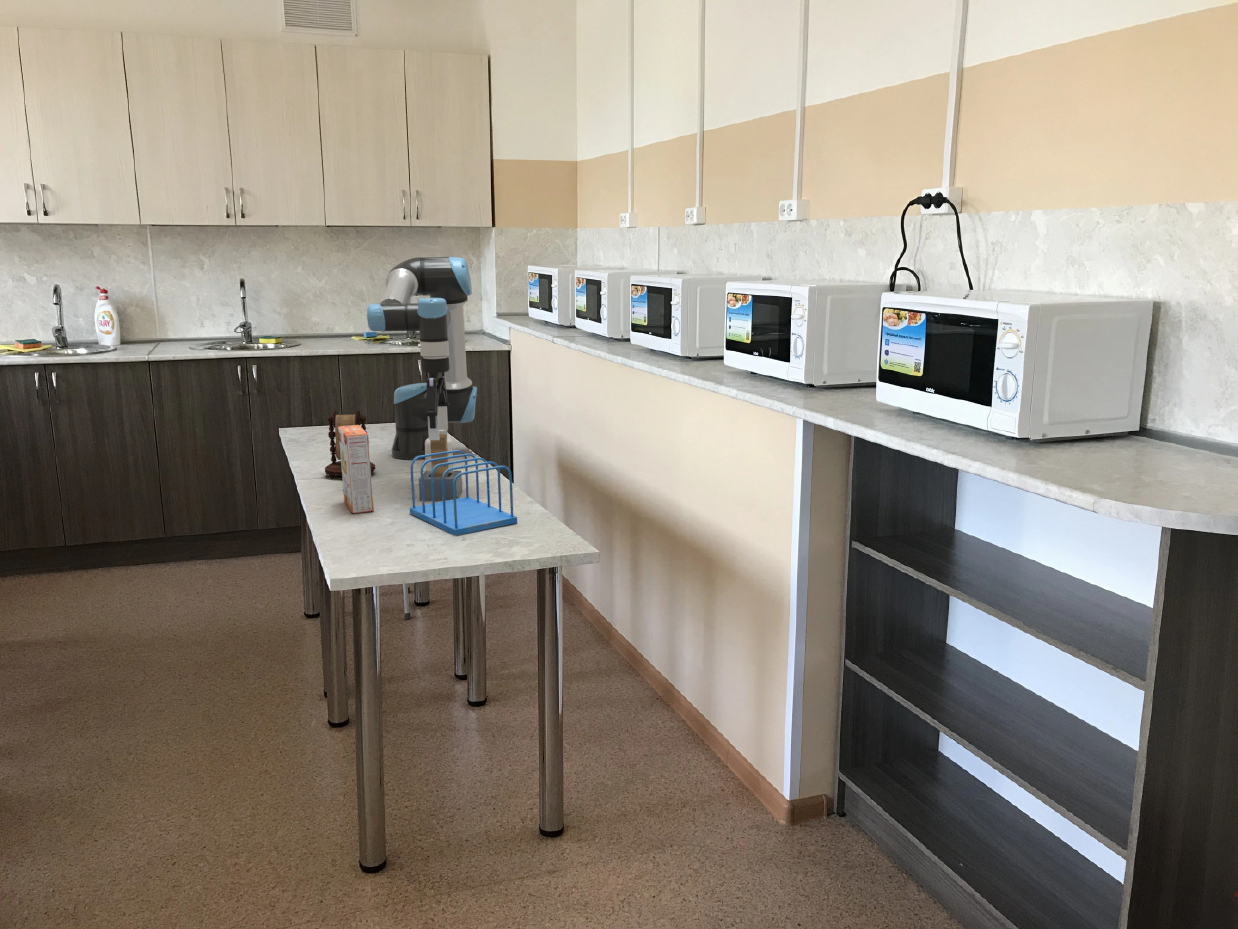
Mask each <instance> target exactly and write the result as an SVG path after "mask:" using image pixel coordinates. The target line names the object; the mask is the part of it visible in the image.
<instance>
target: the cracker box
mask: <svg viewBox="0 0 1238 929" xmlns="http://www.w3.org/2000/svg"><path fill="white" fill-rule="evenodd" d="M338 431H339V443H340V454H341V460H340V461H341V467H342V476H341V477H342V478H341V479H342V488H343V489H342V490H343V500H344V503H345V504H346V505H347V508H348V510H349V511H350V512H351V514H352V513H357V514H363V513H362V512H364V513H370V512H371V511H372V512H374V498H373V497H374V496H373V488H372V486H373V484H372V483H373V482H372V472H371V469H370V462H371V459H370V457H371V456H370V442H369V441H370V440H369V434H368V432H367V433H366V432H365V431H366V430H365V431H364V430H363V429H362V428H361V424H360V425H351V426H340V427H338Z"/></svg>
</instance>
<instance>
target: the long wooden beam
mask: <svg viewBox="0 0 1238 929" xmlns="http://www.w3.org/2000/svg"><path fill="white" fill-rule="evenodd" d="M447 437H448V433H447V434H439V438H440V440H430V444H431V454H433V453H440V452H447V451H448V450H447ZM442 457H448V454H442V455H435V456H431V459H435V458H442ZM446 462H448V459H444V460H438V461H432V462H431V464H432V469H433V468H434V467H435V466H436V465H437V464H441V463H446ZM447 469H448V465H444V466H439V467H438V468H436V469H435V471H434V474H433V477H442V476H443V473H444V472H445V471H446V470H447ZM445 477H449V472H447V474H446V475H445Z"/></svg>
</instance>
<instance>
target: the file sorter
mask: <svg viewBox="0 0 1238 929" xmlns="http://www.w3.org/2000/svg"><path fill="white" fill-rule="evenodd" d="M449 453H454V454H455V455H453V456H448V457H442V458H435V459H430V460H427V461H424V462H423V463H422V464H421V467H420V477H421V490H422V501H421V503H422V504H421V505H416V498H415V496H416V495H415V482H414V464H415V462H416V461H417V460H420V459H419V458H423V457H429V456H435V455H442V454H449ZM456 453H460V454H456ZM463 457H464V459H459V460H453V462H446V463H441V464H437V465H436V466H435V467H434V468H433V469H432V471H431V490H432V501H431V503H427V504H425V503H426V501H425V499H424V481H423V473H424V468H425V467H426V464H427V463H429V462H432V461H438V460H444V459H451V458H453V459H456V458H463ZM467 457H471V458H467ZM472 461H473V462H474V463H471V464H468V462H472ZM478 461H482V462H478ZM461 463H464V465H460V466H459V465H458V466H453V468H449V469H447V470H446V471H445V472H444V473H443V476H442V497H443V501H435V499H434V480H433V474H434V471H435V469H436V468H438V467H439V466H444V465H449V464H453V465H455V464H461ZM483 465H484V466H485V468H480V469H479V466H483ZM489 465H494V466H491V467H489ZM472 467H475V469H474V470H473V469H472V470H468V468H472ZM461 469H464V470H465V471H463V472H462V471H461V472H462V473H459V474H458V475H457V476H456V477H455V478H454V481H453V500H447V501H445V485H444V478H445V475H446V474H447V472H449V471H451V470H453V471H457V470H461ZM501 469H506V470H507V472H508V480H509V502H510V504H509V505H510V507H509V508H510V513H508V512H506V511H504V510H502V492H501V490H502V487H501ZM491 470H492V471H493V470H496V471H497V492H498V493H497V494H498V508H497V507H495V506H492V505H491V496H490V494H491V493H490V471H491ZM485 471H486V474H485V475H486V492H487V493H486V494H487V499H486V500H487V503H486V502H482V501H480V482H479V473H480V472H485ZM473 473H474V474H475V483H476V484H475V486H476V499H475V498H473V497H470V496H469V474H470V475H471V474H473ZM461 475H462V476H463V475H464V476H465V495H466V496H464V497H459V498H458V499H456V488H455V484H456V480H457V478H458V477H460V476H461ZM410 481H411V482H410V483H411V497H412V498H411V500H412V506H410V507H409V514H411V515H412V516H414V517H416V518H419V519H421V520H422V521H425V522H426V521H427V522H426V523H428V522H429V524H430V523H431V525H432V524H433V525H432V526H435V527H436V528H439V529H440V528H441V529H440V530H442V529H443V531H444V530H445V532H446V531H447V533H448V532H449V533H448V534H451V535H452V534H454V535H457V536H460V535H459V534H462V535H466V534H471V533H475V532H476V533H477V532H480V531H485V530H489V529H494V528H495V529H496V528H498V527H499V528H500V527H505V526H508V525H509V526H510V525H513V524H514V525H515V524H518V517H517V515H514V496H513V477H512V470H511V469H510V468H509V467H508V466H507V465H499V464H498V463H497V462H494V461H487V460H486V459H485V458H482V457H476V455H474V454H472V453H465V452H464V451H462V450H460V449H454V450H452V451H447V452H440V453H433V454H427V455H421V456H417V457H416V458H414V459H412V460H411V463H410ZM454 535H453V536H454Z"/></svg>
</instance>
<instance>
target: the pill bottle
mask: <svg viewBox="0 0 1238 929" xmlns="http://www.w3.org/2000/svg"><path fill="white" fill-rule="evenodd" d="M439 434H447V435H448V430H439ZM447 450H448V451H453V441H452V438H450V437H448V436H447ZM427 454H431V444H430V440H429V438H428V439H426V441H425V455H427ZM448 456H454V454H453V453H449V454H448ZM424 459H425V461H427V460H430V459H431V456H429V457H425V458H424ZM425 461H424V462H425ZM453 461H454V458H451V459H448V462H453ZM453 467H454V464H449V465H448V469H449V468H453ZM425 471H432V464H431V462H429V463H427V464H426V465H425ZM451 471H454V470H451Z"/></svg>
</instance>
